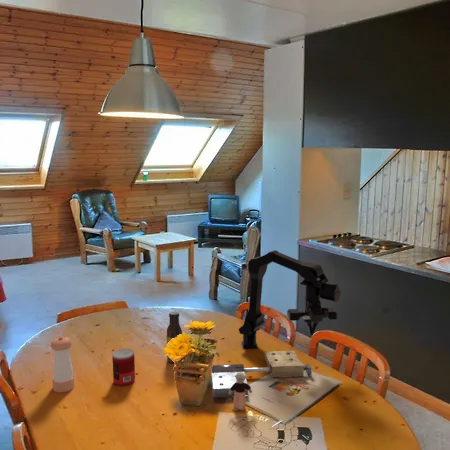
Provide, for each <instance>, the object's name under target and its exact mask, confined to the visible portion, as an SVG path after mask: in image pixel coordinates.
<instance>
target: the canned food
mask: <svg viewBox="0 0 450 450" xmlns="http://www.w3.org/2000/svg"><path fill="white" fill-rule="evenodd" d="M111 361H112V372H113V373H112V378H113V383H114V385H116V386H118V387H126V386H129V385H131V384H133V383H134V382H135V378H136V370H135V369H136V368H135V367H136V366H135V365H136V364H135V363H136V362H135V351H134V350H133V349H132V348H131V349H130V348H120V349H118V350H115V351H113V352H112V360H111Z"/></svg>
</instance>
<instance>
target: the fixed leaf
mask: <svg viewBox="0 0 450 450" xmlns="http://www.w3.org/2000/svg"><path fill="white" fill-rule="evenodd" d="M212 365H213V367H212V373H211V372H210V377H211V387H212V397H213V398H214V399H215V398H216V399H218V398H219V397H220V398H231V397H230V396H234V393H235V390H233V391H232V393H231V394H230V395H229V394H228V392H229V390H230V388H231V387H232V386H233V385H234V383H236V382H237V380H236V374H237V373H240V372H241V373H243V374H244V375H245V376H246V374H247V373H248V374H249V373H270V372H272V367H268V366H266V367H265V366H264V367H244V366H245V365H244V364H243V363H238V364H235V363H233V364H212ZM304 371H305V374H306V373H307V374H306V375H308V376H307V377H311V376H312V366H311V365H310V364H309V363H306V364H305V365H304ZM310 375H311V376H310ZM244 383H246V384H248V381H247V378H245V380H244ZM245 395H248V396H249V391H248V390H247V389H245Z"/></svg>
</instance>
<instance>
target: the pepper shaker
mask: <svg viewBox="0 0 450 450" xmlns="http://www.w3.org/2000/svg"><path fill="white" fill-rule="evenodd" d="M72 344H73V343H72V340H71V339H70V337H66V336H65V337H64V336H62V335H61V336H59V337H57V338H54V339H53V340H52V341H51V343H50V347H51V349H52V350H53V365H52V376H53V378H52V391H54V392H55V393H66V392H70V391H72V390H73V389H74V388H75V377H74V374H73V372H74V371H73V364H72V360H71V350H70V348H71V346H72Z"/></svg>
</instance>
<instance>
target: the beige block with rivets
mask: <svg viewBox="0 0 450 450" xmlns="http://www.w3.org/2000/svg"><path fill="white" fill-rule="evenodd" d="M264 360H265V362H266V365H267V366H266V367H272V372H269V373H270V377H271V378H273V379H274V377H279V378H291V377H290V376H304V366H305V365H304V363H303V362H302V360H300V359H299V358H298V356H297V354H296V352H295V350H271V351H270V350H269V351H264Z"/></svg>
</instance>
